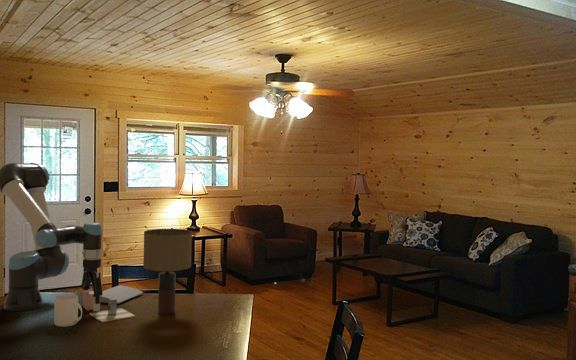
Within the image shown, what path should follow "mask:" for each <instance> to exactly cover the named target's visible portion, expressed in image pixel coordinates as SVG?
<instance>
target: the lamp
mask: <svg viewBox="0 0 576 360" xmlns="http://www.w3.org/2000/svg"><path fill="white" fill-rule="evenodd" d="M192 239H193V231H192V230H188V229H183V228H181V229H180V228H155V229H147V230H144V232H143V259H142V260H143V267H142V268H143V269H144V270H147V271H152V272H153V271H154V272H159V273H158V304H157V305H158V307H157V310H158V311H157V312H158V314H159V315H160V314H161V315H172V314H175V311H176V279H177V278H176V276H177V275H176V272H179V271H185V270H189V269H190V268H192V251H193V250H192V249H193V247H192V244H193V240H192Z"/></svg>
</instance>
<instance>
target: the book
mask: <svg viewBox="0 0 576 360" xmlns="http://www.w3.org/2000/svg"><path fill="white" fill-rule="evenodd" d="M102 293H103V295H101V296H100V303H105V304H108V299H111V298H115V299H117V305H119V304H122V303H125V302H126V301H129V300H131V299H134V298H136V297H138V296H140V295H141V294H144V291H141V290H140V289H137V288H134V287H130V286H127V285H121V284H120V285H117V286H114V287H110V288H108V289H105V290H102Z"/></svg>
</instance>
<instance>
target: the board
mask: <svg viewBox="0 0 576 360" xmlns="http://www.w3.org/2000/svg"><path fill="white" fill-rule="evenodd" d="M89 316H91V317H92V318H95V320H97V321H98V322H100V323H102V324H103V323H107V322H108V323H109V322H114V321H119V320H120V321H121V320H127V319H132V318H136V315H135V314H133V313H131V312H130V311H128V310H126V309H124V308H122V307H119V308H117V311H116V315H111V316H110V315H109V314H108V309H106V310H100V311H95V312H93V311H92V312H89Z"/></svg>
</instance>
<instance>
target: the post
mask: <svg viewBox="0 0 576 360" xmlns="http://www.w3.org/2000/svg"><path fill="white" fill-rule="evenodd" d="M107 304H108V305H107V310H108V314H109V315H110V316H111V315H116V311H117V309H118V308H117V305H118V304H117V299H115V298H111V299H108V303H107Z"/></svg>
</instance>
